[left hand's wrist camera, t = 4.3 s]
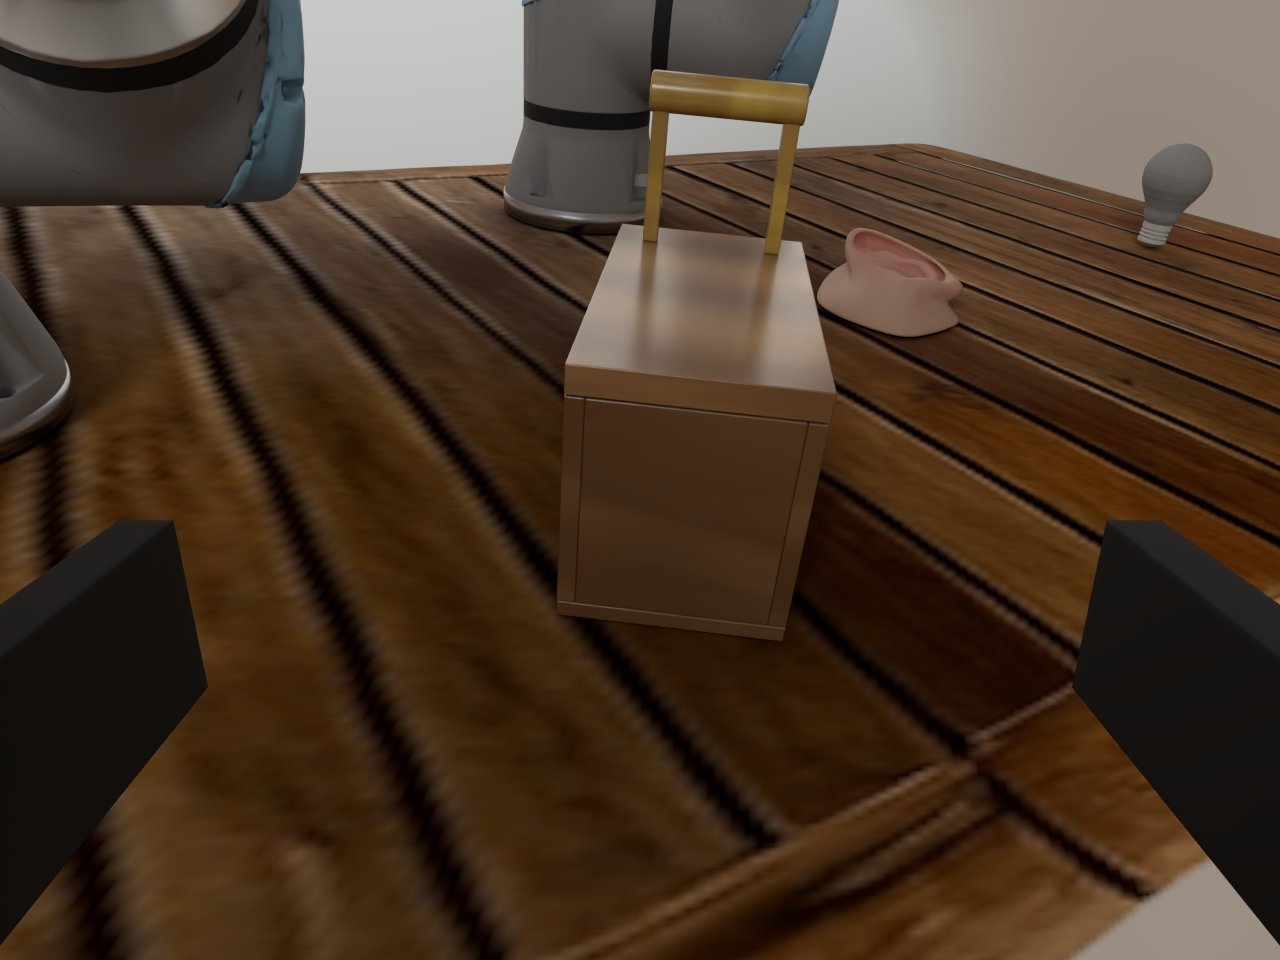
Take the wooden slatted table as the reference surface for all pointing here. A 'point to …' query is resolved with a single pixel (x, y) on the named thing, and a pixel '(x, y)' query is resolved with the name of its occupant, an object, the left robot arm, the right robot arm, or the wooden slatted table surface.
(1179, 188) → the light bulb
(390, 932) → the wooden slatted table surface
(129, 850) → the wooden slatted table surface
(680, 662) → the wooden slatted table surface
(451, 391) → the wooden slatted table surface
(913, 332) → the anatomical model
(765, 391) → the lid
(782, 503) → the chest
